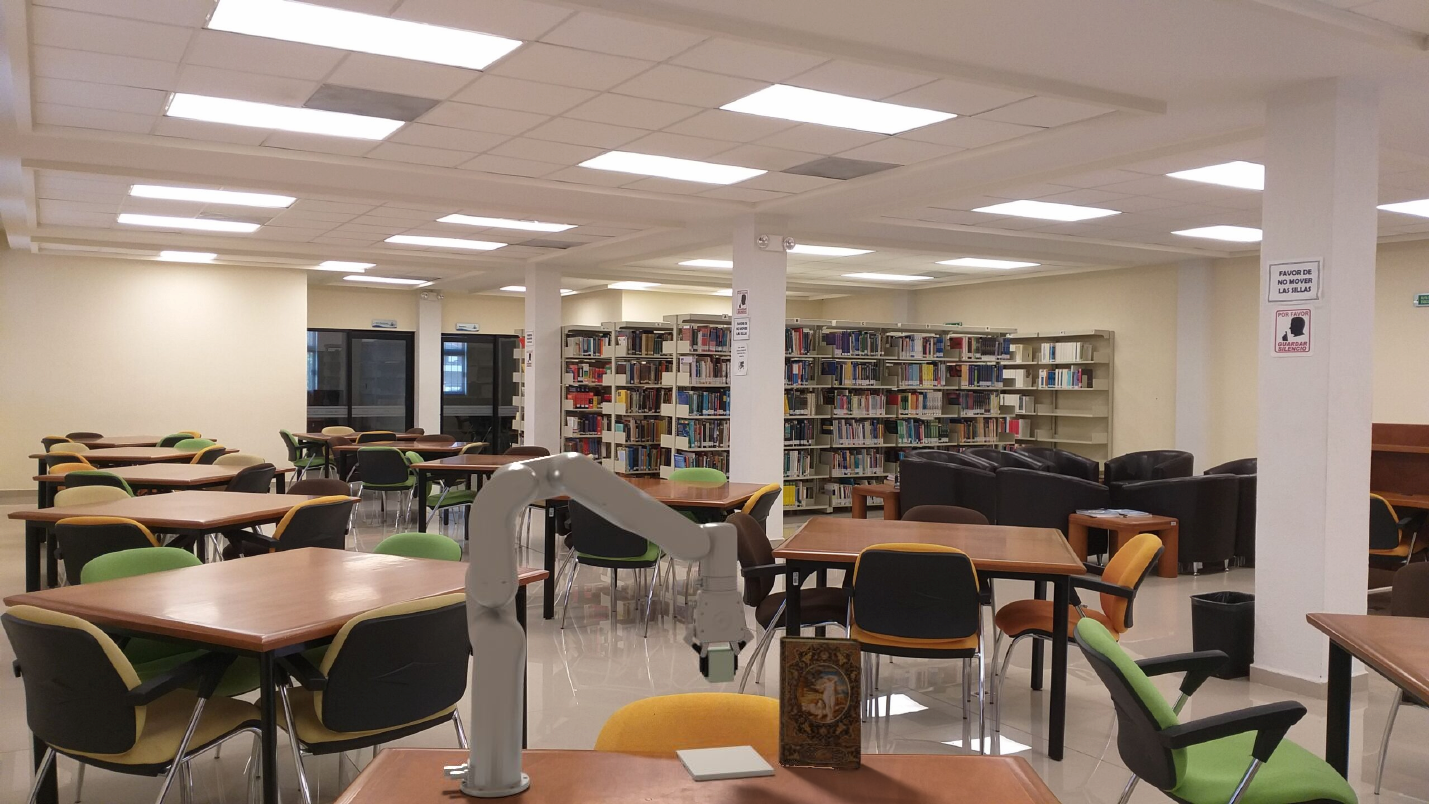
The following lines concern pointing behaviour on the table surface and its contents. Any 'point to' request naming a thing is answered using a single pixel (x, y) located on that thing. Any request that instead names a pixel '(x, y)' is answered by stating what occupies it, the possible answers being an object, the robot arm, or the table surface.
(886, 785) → the table surface
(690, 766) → the pale board
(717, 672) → the block
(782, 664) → the book
